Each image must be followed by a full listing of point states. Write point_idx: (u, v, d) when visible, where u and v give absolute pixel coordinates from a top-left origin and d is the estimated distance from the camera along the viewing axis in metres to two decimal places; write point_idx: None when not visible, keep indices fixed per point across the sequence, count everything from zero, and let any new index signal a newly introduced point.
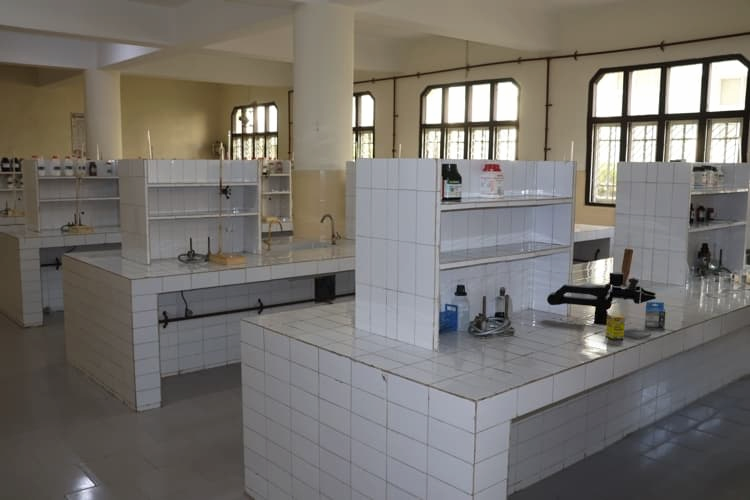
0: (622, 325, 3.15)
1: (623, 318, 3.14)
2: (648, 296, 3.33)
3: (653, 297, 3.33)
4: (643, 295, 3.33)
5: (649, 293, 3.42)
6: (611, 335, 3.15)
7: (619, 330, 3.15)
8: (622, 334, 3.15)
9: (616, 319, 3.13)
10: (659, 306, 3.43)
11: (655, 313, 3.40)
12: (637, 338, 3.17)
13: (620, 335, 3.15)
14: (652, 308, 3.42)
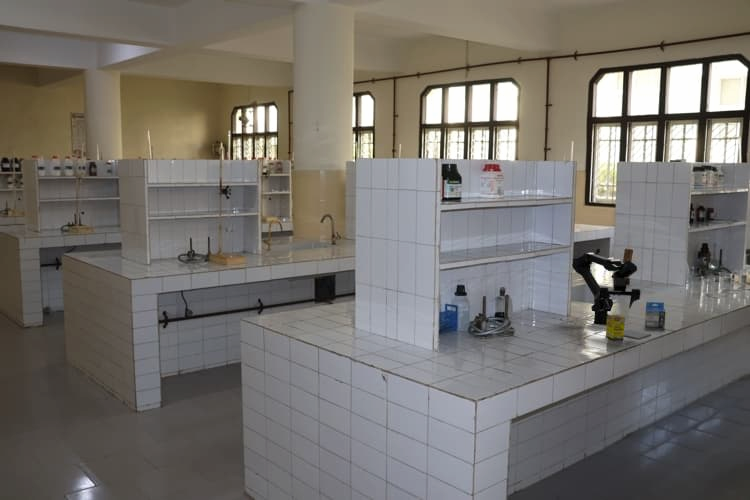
0: (622, 325, 3.15)
1: (623, 318, 3.14)
2: (607, 300, 3.27)
3: (608, 305, 3.26)
4: None
5: None
6: (611, 335, 3.15)
7: (619, 330, 3.15)
8: (622, 334, 3.15)
9: (616, 319, 3.13)
10: (659, 306, 3.43)
11: (655, 313, 3.40)
12: (637, 338, 3.17)
13: (620, 335, 3.15)
14: (652, 308, 3.42)
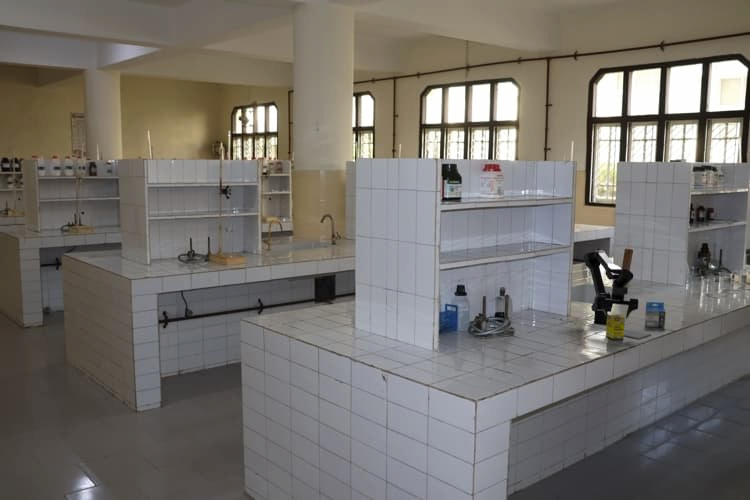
0: (622, 325, 3.15)
1: (623, 318, 3.14)
2: (604, 309, 3.23)
3: (605, 314, 3.22)
4: None
5: None
6: (611, 335, 3.15)
7: (619, 330, 3.15)
8: (622, 334, 3.15)
9: (616, 319, 3.13)
10: (659, 306, 3.43)
11: (655, 313, 3.40)
12: (637, 338, 3.17)
13: (620, 335, 3.15)
14: (652, 308, 3.42)
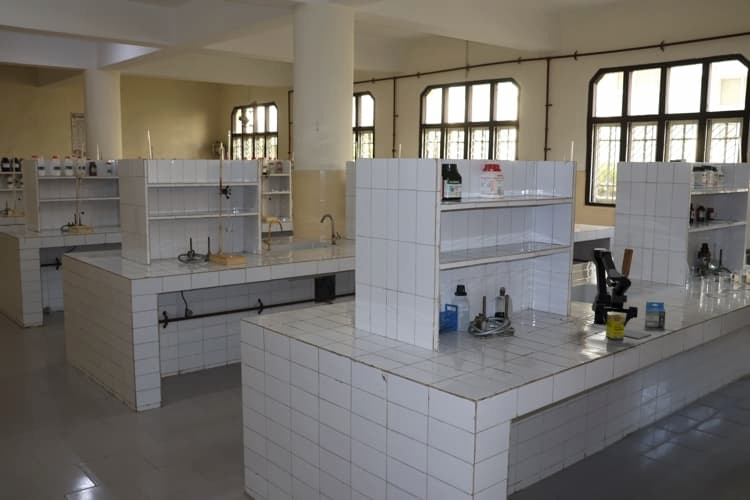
0: (622, 325, 3.15)
1: (623, 318, 3.14)
2: (604, 317, 3.19)
3: (605, 322, 3.18)
4: None
5: (625, 321, 3.16)
6: (611, 335, 3.15)
7: (619, 330, 3.15)
8: (622, 334, 3.15)
9: (616, 319, 3.13)
10: (659, 306, 3.43)
11: (655, 313, 3.40)
12: (637, 338, 3.17)
13: (620, 335, 3.15)
14: (652, 308, 3.42)
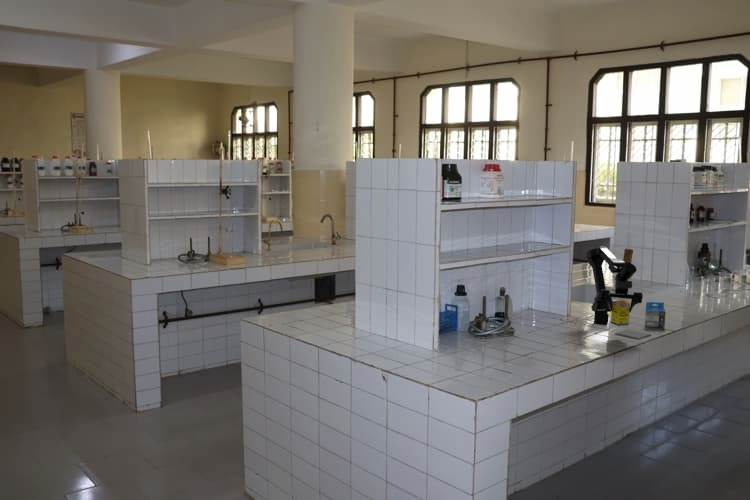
0: (627, 310, 3.15)
1: (628, 304, 3.15)
2: (609, 303, 3.19)
3: (610, 308, 3.18)
4: None
5: (630, 306, 3.16)
6: (616, 321, 3.15)
7: (624, 316, 3.15)
8: (627, 319, 3.16)
9: (622, 305, 3.13)
10: (659, 306, 3.43)
11: (655, 313, 3.40)
12: (637, 338, 3.17)
13: (625, 321, 3.16)
14: (652, 308, 3.42)
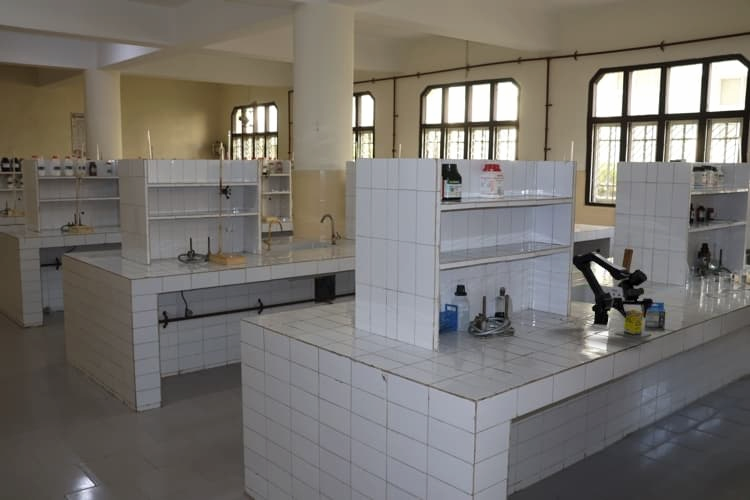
0: (641, 320, 3.23)
1: (642, 313, 3.23)
2: (622, 311, 3.24)
3: (624, 315, 3.23)
4: (620, 306, 3.26)
5: (643, 312, 3.24)
6: (632, 330, 3.22)
7: (638, 325, 3.22)
8: (641, 328, 3.24)
9: (637, 314, 3.20)
10: (659, 306, 3.43)
11: (655, 313, 3.40)
12: (637, 338, 3.17)
13: (639, 330, 3.23)
14: (652, 308, 3.42)
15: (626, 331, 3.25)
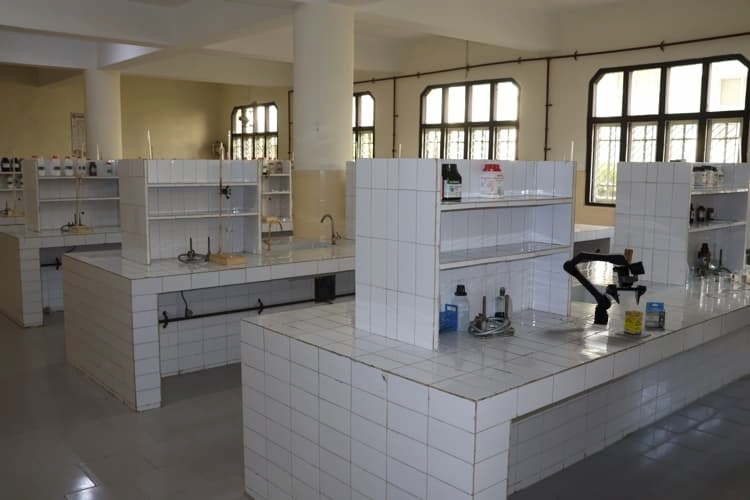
0: (641, 320, 3.23)
1: (642, 313, 3.23)
2: (615, 297, 3.33)
3: (617, 302, 3.32)
4: None
5: (637, 299, 3.33)
6: (632, 330, 3.22)
7: (638, 325, 3.22)
8: (641, 328, 3.24)
9: (637, 314, 3.20)
10: (659, 306, 3.43)
11: (655, 313, 3.40)
12: (637, 338, 3.17)
13: (639, 330, 3.23)
14: (652, 308, 3.42)
15: (626, 331, 3.25)
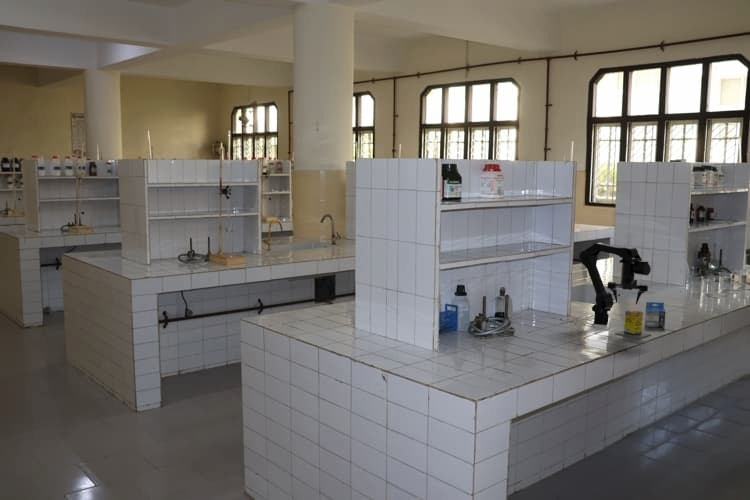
0: (641, 320, 3.23)
1: (642, 313, 3.23)
2: (614, 295, 3.36)
3: None
4: None
5: None
6: (632, 330, 3.22)
7: (638, 325, 3.22)
8: (641, 328, 3.24)
9: (637, 314, 3.20)
10: (659, 306, 3.43)
11: (655, 313, 3.40)
12: (637, 338, 3.17)
13: (639, 330, 3.23)
14: (652, 308, 3.42)
15: (626, 331, 3.25)
